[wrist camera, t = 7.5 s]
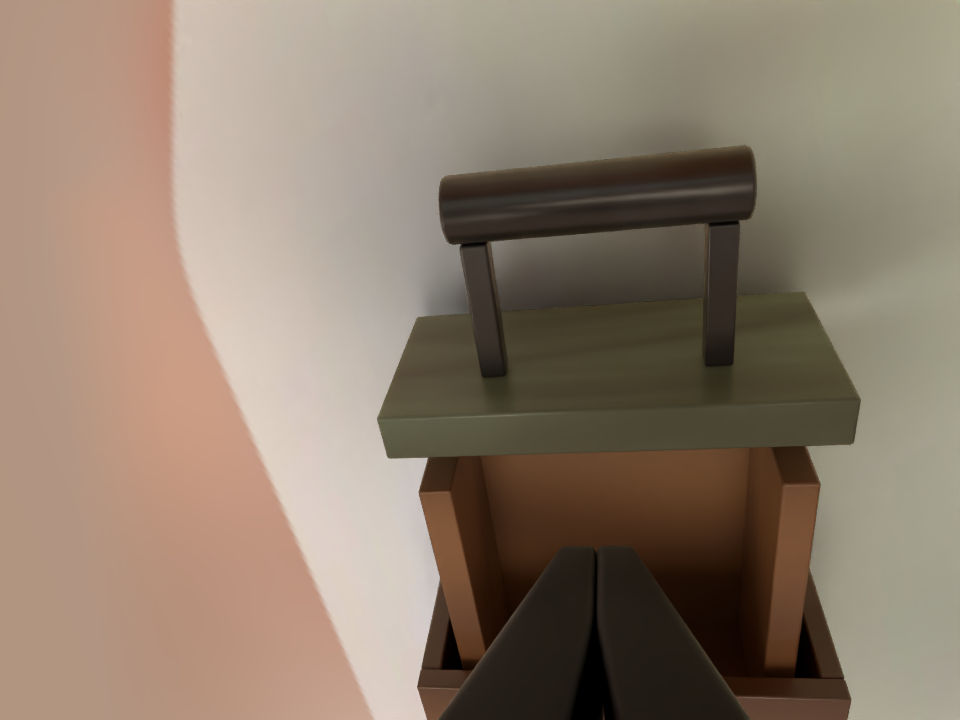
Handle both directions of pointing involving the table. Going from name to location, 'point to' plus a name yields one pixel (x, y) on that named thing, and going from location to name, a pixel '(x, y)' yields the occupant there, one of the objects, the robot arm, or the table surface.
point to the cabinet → (768, 701)
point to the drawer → (623, 413)
